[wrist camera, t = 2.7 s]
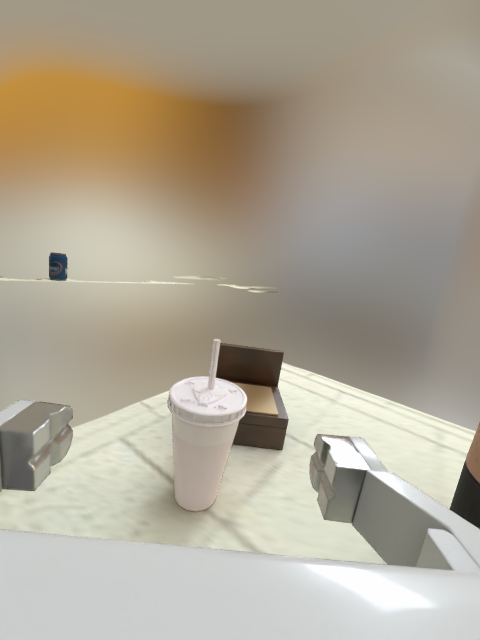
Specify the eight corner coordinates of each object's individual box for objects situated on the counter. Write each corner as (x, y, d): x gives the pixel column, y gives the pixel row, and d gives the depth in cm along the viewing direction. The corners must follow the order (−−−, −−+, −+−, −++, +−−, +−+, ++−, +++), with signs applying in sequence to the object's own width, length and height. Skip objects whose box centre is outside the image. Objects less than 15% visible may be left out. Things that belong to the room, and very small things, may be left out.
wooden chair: (204, 441, 31) (214, 367, 29) (211, 401, 40) (219, 342, 38) (282, 450, 31) (297, 378, 29) (272, 408, 40) (282, 351, 38)
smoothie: (236, 473, 27) (258, 338, 24) (225, 536, 21) (253, 363, 18) (173, 459, 27) (188, 326, 24) (144, 517, 21) (159, 346, 18)
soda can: (46, 279, 122) (46, 252, 119) (53, 278, 128) (53, 252, 126) (63, 281, 123) (63, 254, 121) (69, 280, 130) (69, 254, 128)
